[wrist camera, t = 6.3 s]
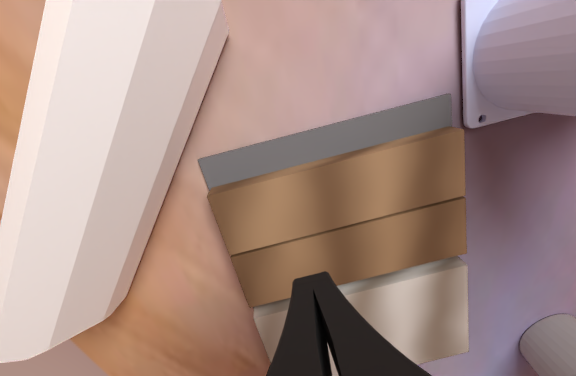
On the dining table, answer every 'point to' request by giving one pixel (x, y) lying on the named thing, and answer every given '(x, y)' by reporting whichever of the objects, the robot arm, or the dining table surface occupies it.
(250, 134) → the dining table surface
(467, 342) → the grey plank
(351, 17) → the dining table surface
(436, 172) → the walnut boards
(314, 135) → the underlay mat
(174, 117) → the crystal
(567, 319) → the coffee cup
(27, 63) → the dining table surface
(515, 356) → the dining table surface
